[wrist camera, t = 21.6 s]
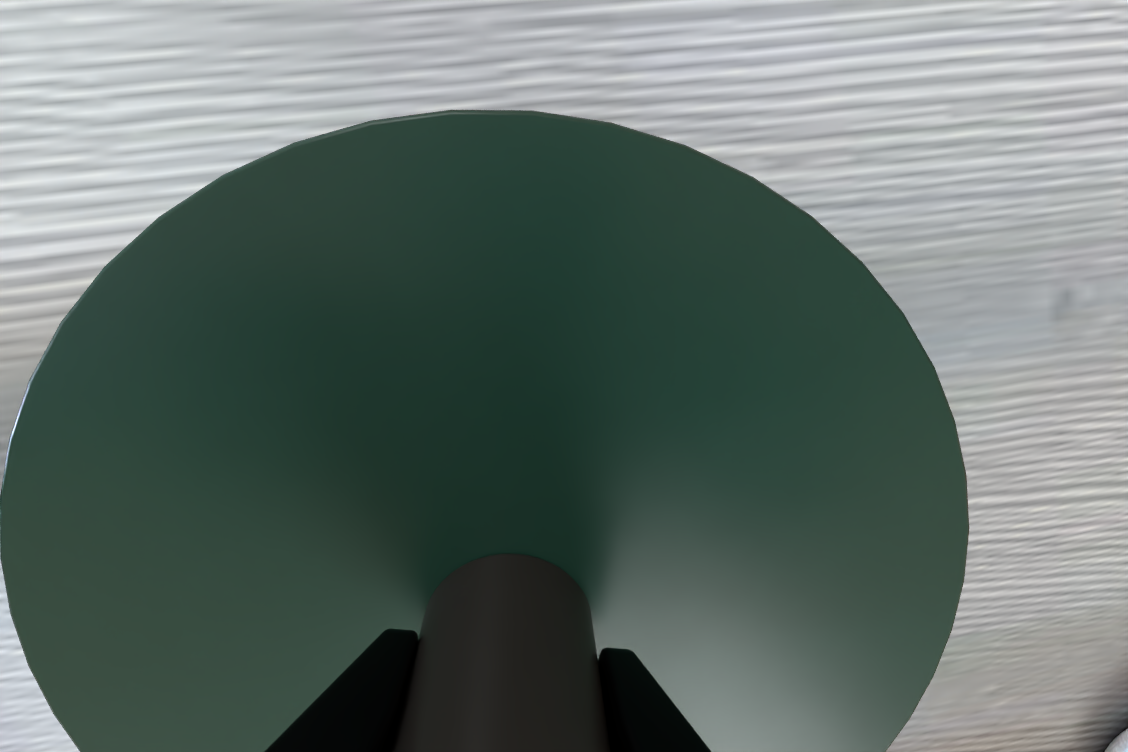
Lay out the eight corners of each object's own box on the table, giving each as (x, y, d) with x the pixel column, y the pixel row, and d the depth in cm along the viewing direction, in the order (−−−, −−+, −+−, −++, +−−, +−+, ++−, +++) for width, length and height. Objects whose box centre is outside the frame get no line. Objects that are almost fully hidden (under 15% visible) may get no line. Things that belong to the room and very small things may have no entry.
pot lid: (-174, 585, 8) (-1012, 1039, 4) (545, -180, 6) (582, -1266, 2) (491, 999, 11) (467, 1481, 7) (1094, 610, 9) (1577, 961, 5)
